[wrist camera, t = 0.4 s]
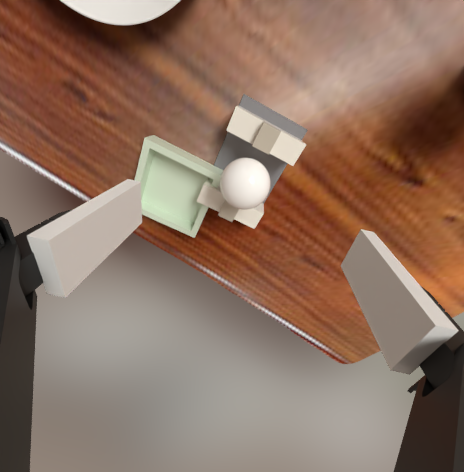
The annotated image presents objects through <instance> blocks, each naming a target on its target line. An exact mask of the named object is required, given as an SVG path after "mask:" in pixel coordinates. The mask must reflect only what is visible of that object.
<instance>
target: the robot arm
mask: <svg viewBox="0 0 464 472" xmlns="http://www.w3.org/2000/svg"><path fill="white" fill-rule="evenodd" d="M141 223H142V203H141V182H139V181H135V180H130V179H127V180H126V181H124V182H122V183H120V184H118V185H117V186H115V187H113V188H111V189H109V190H108V191H106V192H104V193H102V194H100V195H99V196H97V197H95V198H93V199H91V200H90V201H88V202H86V203H85V204H82V205H81V206H79V207H77V208H75V209H74V210H68V211H65V212H61V213H58V214H57V215H55V216H53V217H51V218H49V220H45V221H43V222H42V223H41V224H38V225H36V226H34V227H32V228H30V229H28V230H27V231H25V232H23V233H21V234H19V235H17V236H16V237H14V235H13V232H12V229H11V227H10V224H9V222H8V220H7V219H5V218H3V217H0V472H30V448H31V425H32V401H33V400H32V399H33V376H34V354H35V331H36V306H37V295H36V292H35V289H36V288H37V287H39V286H40V285H41V284H42V283H43V285H44V287H45V290H46V293H47V294H50V295H54V296H59V297H63V298H66V297H67V296H68V295H69V294H70V293H71V292H72V291H73V290H74V289H75V288H76V287H77V286H78V285H79V284H80V283H81V282H82V281H83V280H84V279H85V278H86V277H87V276H88V275H89V274H90V273H91V272H92V271H93V270H94V269H95V268H96V267H97V266H99V265H100V264H101V263H102V262H103V261H104V260H105V259H106V258H107V257H108V256H109V255H110V254H111V253H112V252H113V251H114V250H115V249H116V248H117V247H118V246H119V245H120V244H121V243H122V242H123V241H124V240H125V239H126V238H127V237H128V236H129V235H130V234H131V233H132V232H133V231H134V230H135V229H136V228H137V227H138V226H139V225H140V224H141ZM341 268H342V270H343V272H344V274H345V276H346V278H347V280H348V282H349V284H350V287H351V289H352V291H353V293H354V295H355V297H356V299H357V301H358V303H359V305H360V307H361V310H362V312H363V314H364V316H365V318H366V320H367V322H368V324H369V326H370V328H371V330H372V333H373V335H374V337H375V339H376V341H377V343H378V345H379V347H380V349H381V351H382V354H383V356H384V358H385V360H386V362H387V364H388V366H389V368H390V370H392V371H396V372H401V373H406V374H411V373H412V372H413V371H414V370H415V369H416V368H418V367H419V366H420V367H421V368H422V370H423V372H424V373H425V376H423V377H422V378H421V379H420V380H419V381H418V382H416V383H415V384H414V385H413V386H411V387H410V388H409V390H408V391H409V392H410V393H412V392H413V391H416V394H415V398H414V401H413V405H412V408H411V412H410V415H409V419H408V423H407V426H406V430H405V433H404V437H403V440H402V444H401V448H400V452H399V455H398V458H397V462H396V465H395V469H394V472H464V331H463V330H462V329H461V328H460V327H459V326H458V325H457V323H456V322H455V321H454V320H453V319H452V318H451V317H450V315H449V314H448V313H447V312H445V310H444V309H443V307H442V306H441V305H440V304H438V302H437V301H436V300H435V298H434V297H433V296H432V295H431V294H430V293H429V292H428V291H426V290H425V289H424V288H423V287H421V286H420V285H419V284H418V283H417V282H416V280H415V279H414V278H413V277H412V276H411V275H410V274H409V272H408V271H407V270H406V269H405V268H404V267H403V265H402V264H401V263H400V262H399V261H398V260H397V258H396V257H395V256H394V255H393V254H392V253H391V251H390V250H389V249H388V248H387V247H386V246H385V245H384V243H383V242H382V241H381V240H380V239H379V238H378V236H377V235H376V234H375V233H374V232H371V231H366V230H362V229H361V230H360V232H359V233H358V235H357V237H356V239H355V241H354V243H353V244H352V246H351V248H350V250H349V252H348V253H347V255H346V257H345V259H344V261H343V262H342V264H341Z"/></svg>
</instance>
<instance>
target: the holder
mask: <svg viewBox="0 0 464 472" xmlns="http://www.w3.org/2000/svg"><path fill="white" fill-rule="evenodd" d="M226 131H228V133H227V135H226V137H225V140H224V142H223V145H222V147H221V149H220V152H219V154H218V156H217V159H216V161H215V163H214V166H216V167H218V168H220V169H222V170H224V169H225V167H226V166H227V165H228V164H229V163H231V162H232V161H234V160H236V159H239V158H252V159H255V160H257V161H259V162H260V163H261V164H263V165H264V167H265V168H266V169H267V171H268V173H269V176H270V182H271V185H270V191H269V194H270V192H271V190H272V189H273V187H274V185H275V184H276V182H277V180H278V179H279V177H280V175H281V174H282V172H283V170H284V169H285V167H286V165H287V164H290V165H292V166H293V165H294V164H295V162H296V161H297V159H298V157H299V156H300V154H301V153H302V151H303V149H304V148H305V146H306V144H305V143H304V142H303V141H302V139H303V137H304V135H305V134H306V132H307V129H305V128H304V127H302V126H300V125H298V124H296V123H295V122H293V121H291V120H289V119H288V118H286V117H284V116H282V115H280V114H279V113H277V112H275V111H273V110H272V109H270V108H268V107H266V106H264V105H263V104H261V103H259V102H257V101H256V100H254V99H252V98H250V97H248V96H247V95H245V94H244V95H243V97H242V99H241V102H240V104H239V106H236V108H235V110H234V113H233V115H232V118H231V120H230V122H229V125H228V127H227V130H226ZM212 182H213V180H212V179H210V178H208V179H207V180H206V182H205V183H204V185H203V187H202V190H201V192H200V194H199V197H198V199H197V202H199V203H201V204H203V205H205V206H207V207H209V208H212V209H214V210H216V211H218V212H219V214H218V216H220V217H222V218H224V219H226V220H229V221H231V222H232V221H233V220H234V219H235V220H237V221H239V222H241V223H243V224H245V225H247V226H249V227H251V228H254V229H255V227H256V225H257V224H258V222H259V221H260V219H261V217H262V216H263V214H264V206H263V204H264V202H265V200H266V199H267V197H268V196H267V197H266V199H265V200H264V201H263V202H262V203H261V204H260V205H259V206H257V207H255V208H252V209H248V210H242V209H237V208H235V207H233V206H231V205H230V204H228V203H227V202H226V200H225V199H224V198H223V196H222V193H221V190H220V184H219V186H218V188H215V187H213V186H211V184H212ZM269 194H268V195H269Z"/></svg>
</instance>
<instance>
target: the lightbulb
mask: <svg viewBox="0 0 464 472" xmlns="http://www.w3.org/2000/svg"><path fill="white" fill-rule="evenodd" d="M270 185H271V182H270V176H269V173H268V171H267V169H266V168H265V167H264V165H263V164H261V163H260V162H259V161H257V160H255V159H252V158H239V159H236V160H234V161H232V162H231V163H229V164H228V165H227V166H226V167H225V169H224V170H223V172H222V174H221V178H220V190H221V193H222V196H223V198H224V199H225V200H226V202H227V203H228V204H230V205H231V206H233V207H235V208H237V209H242V210H248V209H252V208H255V207H257V206H259V205H260V204H261V203H262V202H263V201H264V200H265V199H266V197H267V196H268V194H269V191H270Z"/></svg>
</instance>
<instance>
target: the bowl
mask: <svg viewBox="0 0 464 472" xmlns="http://www.w3.org/2000/svg"><path fill="white" fill-rule="evenodd" d="M60 1H61V2H62V3H64V4H65V5H67V6H68V7H70V8H71V9H73V10H74V11H76V12H78V13H80V14H82V15H83V16H86V17H88V18H90V19H93V20H95V21H98V22H102V23H106V24H111V25H136V24H141V23H144V22H148V21H150V20H153V19H155V18H157V17H159V16H161V15H163V14H164V13H166V12H167V11H169V10H170V9H171V8H173V7H174V6H175V5H176V4H177V3H178V2H180V1H181V0H60Z"/></svg>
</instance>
